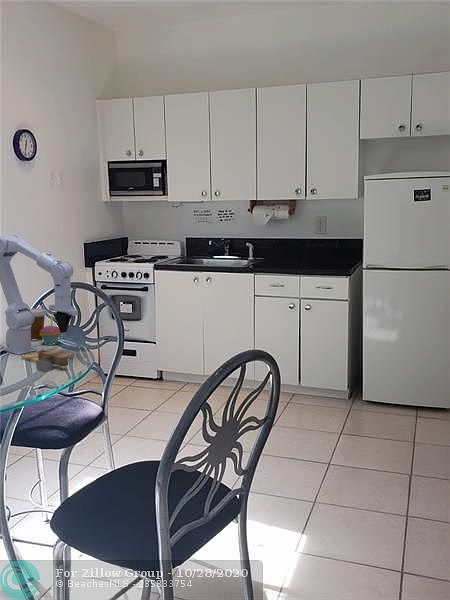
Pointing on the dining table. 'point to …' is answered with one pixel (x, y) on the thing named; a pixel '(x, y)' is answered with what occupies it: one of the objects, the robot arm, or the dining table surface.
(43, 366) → the stop block
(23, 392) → the dining table surface
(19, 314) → the robot arm
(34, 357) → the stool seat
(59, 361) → the hinged leg
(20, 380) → the dining table surface
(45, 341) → the cupcake
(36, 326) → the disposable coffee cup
